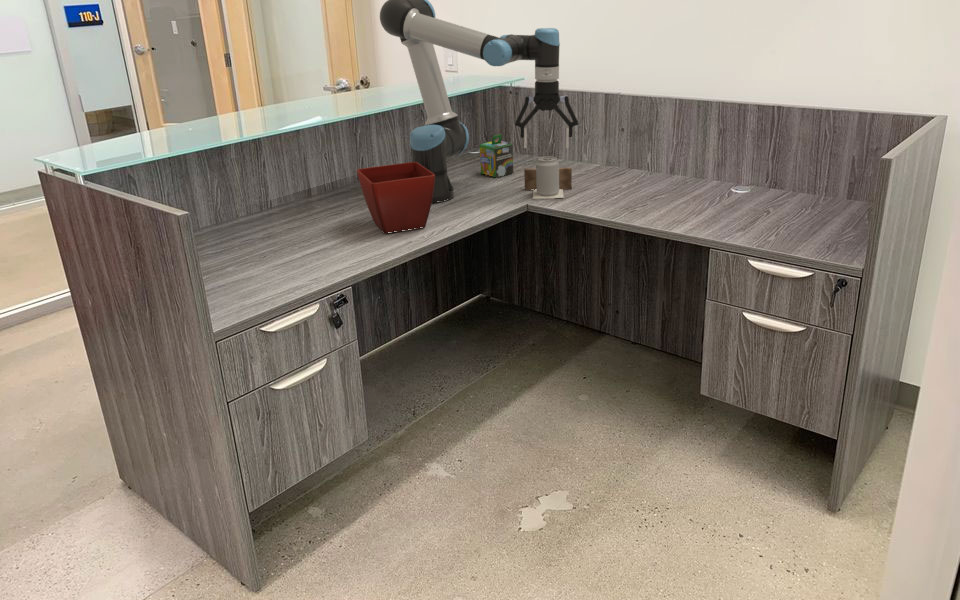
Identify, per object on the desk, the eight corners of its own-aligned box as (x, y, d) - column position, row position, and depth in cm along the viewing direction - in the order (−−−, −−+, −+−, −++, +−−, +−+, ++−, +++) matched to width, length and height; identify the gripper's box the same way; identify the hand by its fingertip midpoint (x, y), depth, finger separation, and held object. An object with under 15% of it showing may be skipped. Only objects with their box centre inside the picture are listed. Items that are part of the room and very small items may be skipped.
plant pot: (440, 229, 226) (436, 174, 220) (377, 240, 220) (371, 183, 214) (420, 213, 243) (416, 161, 236) (362, 222, 237) (355, 169, 230)
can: (559, 190, 258) (558, 155, 253) (559, 196, 251) (558, 160, 246) (536, 190, 258) (536, 155, 254) (536, 196, 252) (535, 160, 247)
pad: (532, 199, 251) (532, 198, 250) (533, 191, 260) (533, 189, 260) (563, 199, 250) (563, 197, 250) (562, 190, 259) (562, 189, 259)
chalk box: (498, 169, 291) (496, 131, 285) (514, 173, 284) (513, 133, 278) (479, 174, 285) (477, 135, 279) (495, 178, 279) (494, 138, 273)
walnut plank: (524, 190, 262) (524, 170, 259) (524, 188, 264) (524, 168, 261) (571, 189, 261) (571, 168, 258) (571, 187, 262) (571, 167, 260)
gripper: (506, 82, 238) (507, 150, 246) (587, 81, 236) (585, 149, 244) (507, 79, 244) (508, 145, 253) (586, 77, 242) (584, 144, 251)
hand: (546, 147), depth 249 cm, fingers open, 13 cm apart
